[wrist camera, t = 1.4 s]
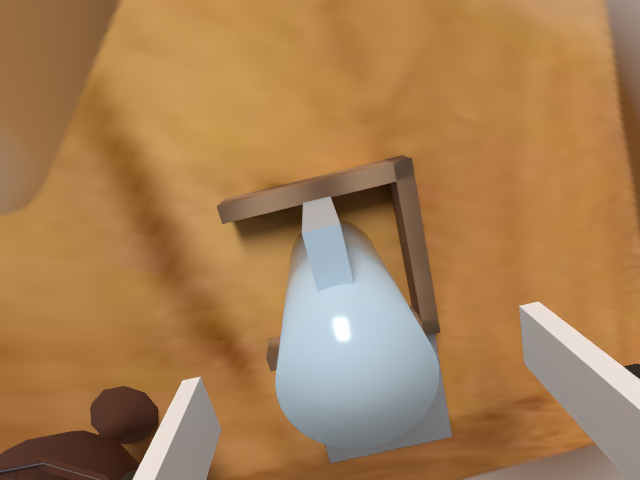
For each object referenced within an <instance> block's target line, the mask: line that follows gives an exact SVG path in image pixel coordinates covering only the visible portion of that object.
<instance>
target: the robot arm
mask: <svg viewBox="0 0 640 480" xmlns="http://www.w3.org/2000/svg"><path fill="white" fill-rule="evenodd" d="M519 309H520V321H521V332H522V343H523V354H524V364H525V365H526V367H527V368H528V369H529V370H530V371H531V372H532V373H533V374H534V375H535V377H536V378H537V379H538V380H539V381H540V382H541V383H542V384H543V385H544V387H545V388H546V389H547V390H548V391H549V392H550V393H551V394H552V396H553V397H554V398H555V399H556V400H557V401H558V402H559V403H560V404H561V406H562V407H563V408H564V409H565V410H566V411H567V412H568V413H569V414H570V416H571V417H572V418H573V419H574V420H575V421H576V422H577V423H578V424H579V426H580V427H581V428H582V429H583V430H584V431H585V432H586V433H587V434H588V436H589V437H590V438H591V439H592V440H593V441H594V442H595V443H596V444H597V446H598V447H599V448H600V449H601V450H602V451H603V452H604V453H605V455H607V457H608V458H609V459H610V460H611V461H612V462H613V463H614V464H615V466H616V467H617V468H618V469H619V470H620V471H621V472H622V473H623V475H624V476H625V477H626V478H627V479H628V480H640V364H633V365H628V366H624V367H623V366H622V365H620V364H619V363H618V362H616V361H615V360H614V359H613V358H611V357H610V356H609V355H607V354H606V353H605V352H603V351H602V350H601V349H600V348H598V347H597V346H596V345H594V344H593V343H592V342H590V341H589V340H588V339H587V338H585V337H584V336H583V335H581V334H580V333H579V332H577V331H576V330H575V329H574V328H572V327H571V326H570V325H568V324H567V323H566V322H564V321H563V320H562V319H560V318H559V317H558V316H557V315H555V314H554V313H553V312H551V311H550V310H549V309H547V308H546V307H545V306H544V305H542V304H541V303H540V302H535V303H531V304H526V305H522V306H519ZM220 432H221V427H220V424H219V422H218V419H217V417H216V414H215V412H214V409H213V407H212V404H211V402H210V399H209V397H208V394H207V392H206V389H205V387H204V384H203V382H202V379H201V377H197V378H192V379H188V380H183V381H182V383H181V385H180V387H179V389H178V391H177V393H176V395H175V397H174V399H173V401H172V403H171V405H170V407H169V409H168V411H167V413H166V415H165V417H164V419H163V420H162V422H161V424H160V426H159V428H158V430H157V432H156V434H155V436H154V438H153V440H152V442H151V444H150V446H149V448H148V450H147V452H146V454H145V456H144V458H143V460H142V462H141V464H140V466H139V468H138V470H136V471H131V472H127V473H126V474H125V475H124V476H123V477H122V478H121V479H120V480H206V479H207V476H208V472H209V469H210V465H211V462H212V459H213V455H214V452H215V449H216V445H217V442H218V439H219V435H220Z"/></svg>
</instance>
